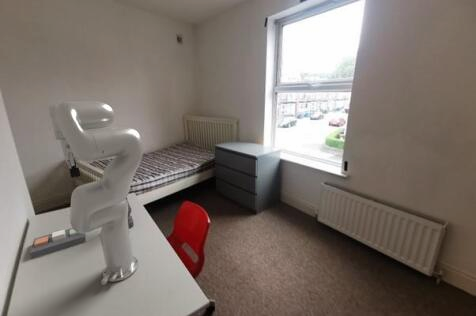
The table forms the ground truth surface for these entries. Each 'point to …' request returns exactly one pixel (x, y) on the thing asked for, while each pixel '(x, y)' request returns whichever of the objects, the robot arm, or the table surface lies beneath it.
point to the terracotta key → (41, 241)
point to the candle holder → (129, 217)
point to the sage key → (73, 233)
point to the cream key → (58, 235)
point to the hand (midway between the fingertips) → (75, 176)
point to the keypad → (56, 244)
